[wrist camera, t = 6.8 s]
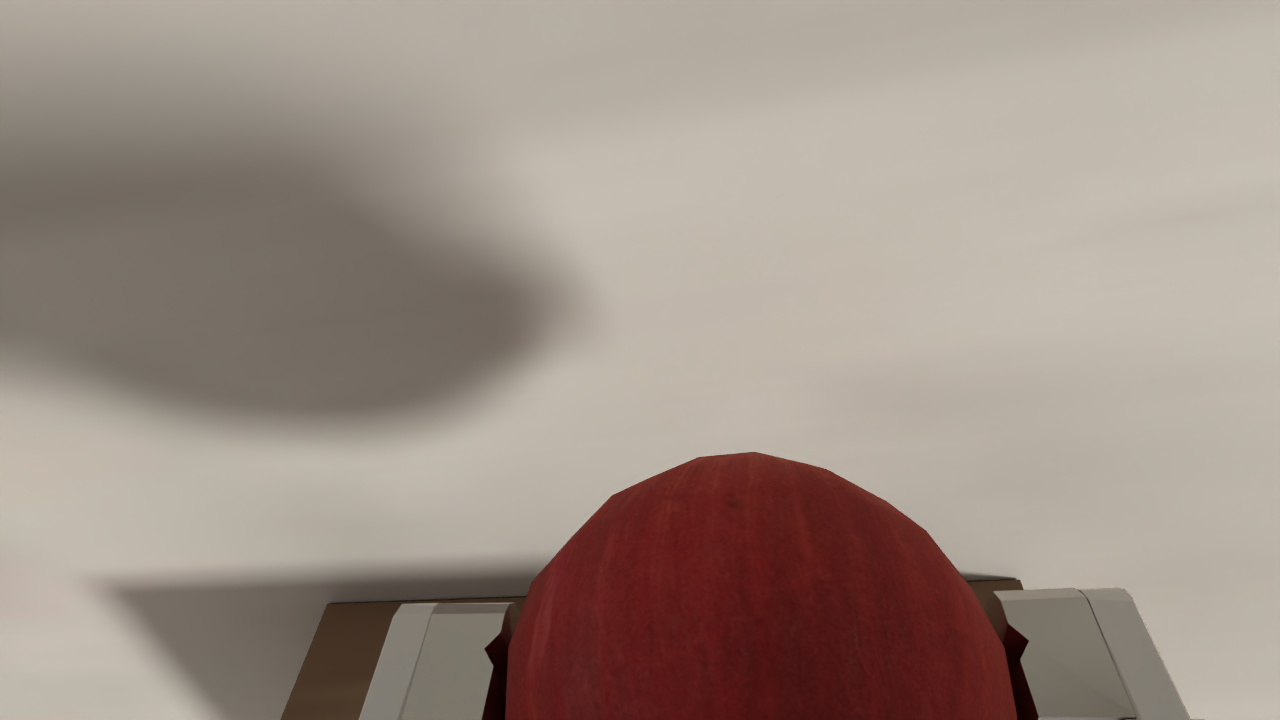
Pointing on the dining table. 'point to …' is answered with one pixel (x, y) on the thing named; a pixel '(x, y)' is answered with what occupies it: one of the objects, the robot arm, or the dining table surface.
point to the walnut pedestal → (354, 641)
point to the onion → (753, 608)
